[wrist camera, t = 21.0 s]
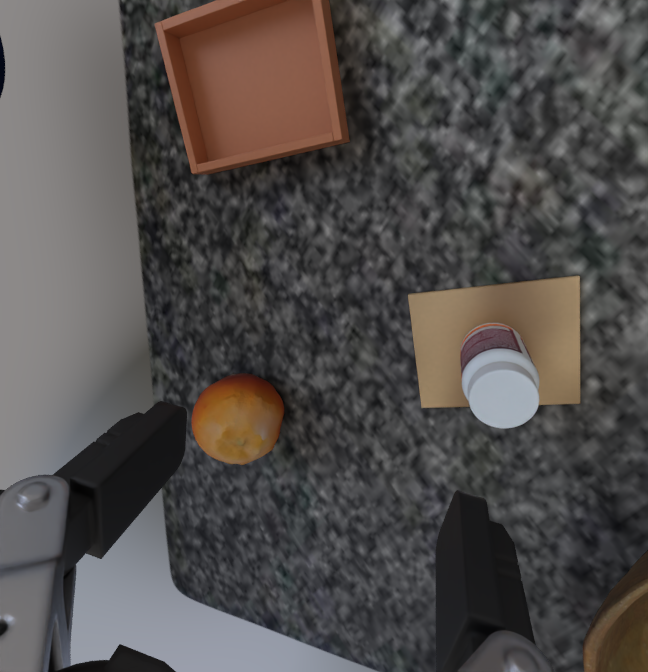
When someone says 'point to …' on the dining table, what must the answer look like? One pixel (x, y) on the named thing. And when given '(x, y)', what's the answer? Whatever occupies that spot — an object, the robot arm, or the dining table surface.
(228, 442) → the fruit
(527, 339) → the mat
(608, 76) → the dining table surface
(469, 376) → the pill bottle
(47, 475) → the robot arm
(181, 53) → the tray
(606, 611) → the bowl
